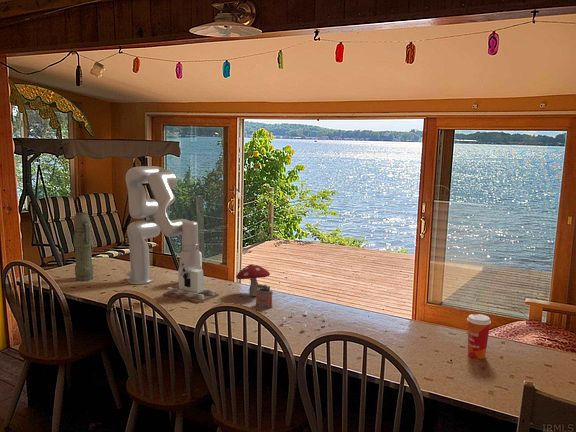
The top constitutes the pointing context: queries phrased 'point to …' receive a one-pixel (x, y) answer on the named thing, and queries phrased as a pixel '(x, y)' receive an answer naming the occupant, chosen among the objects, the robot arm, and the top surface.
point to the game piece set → (304, 324)
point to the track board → (191, 295)
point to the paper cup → (478, 335)
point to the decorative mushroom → (252, 276)
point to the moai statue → (83, 247)
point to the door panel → (192, 281)
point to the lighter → (264, 296)
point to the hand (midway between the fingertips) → (190, 285)
